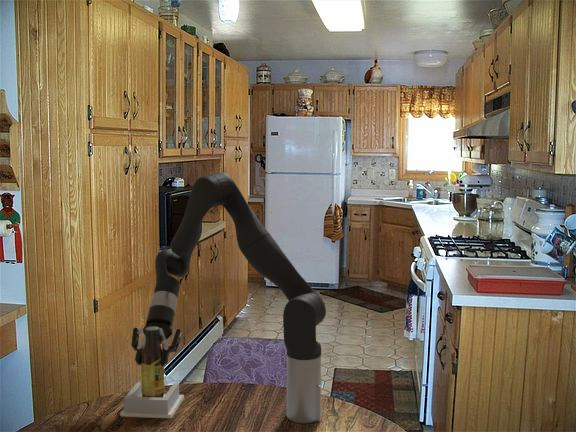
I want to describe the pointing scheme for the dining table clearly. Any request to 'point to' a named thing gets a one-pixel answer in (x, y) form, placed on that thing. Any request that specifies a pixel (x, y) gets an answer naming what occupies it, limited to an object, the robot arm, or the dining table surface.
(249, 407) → the dining table surface
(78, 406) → the dining table surface
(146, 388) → the sauce bottle
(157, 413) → the white open tray
